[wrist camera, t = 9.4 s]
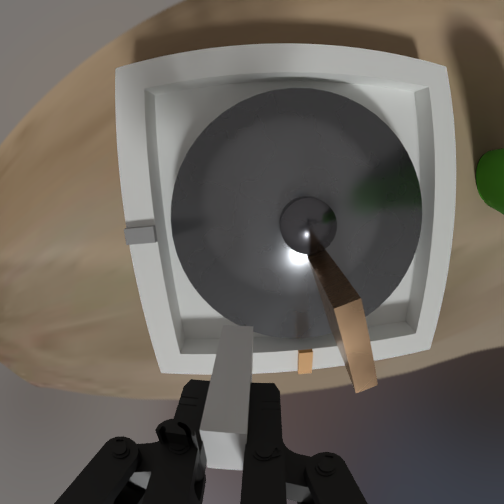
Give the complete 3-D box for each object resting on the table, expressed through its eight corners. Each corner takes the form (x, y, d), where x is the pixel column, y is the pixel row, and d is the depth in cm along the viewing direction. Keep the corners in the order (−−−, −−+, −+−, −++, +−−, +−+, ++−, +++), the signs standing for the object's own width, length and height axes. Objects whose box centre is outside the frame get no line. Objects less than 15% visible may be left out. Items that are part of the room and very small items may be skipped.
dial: (141, 151, 17) (69, 149, 9) (368, 70, 15) (431, 26, 7) (234, 351, 21) (225, 434, 14) (425, 279, 20) (486, 332, 12)
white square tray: (422, 76, 16) (449, 65, 13) (413, 328, 23) (431, 351, 19) (135, 80, 17) (112, 66, 13) (171, 347, 24) (159, 376, 20)
